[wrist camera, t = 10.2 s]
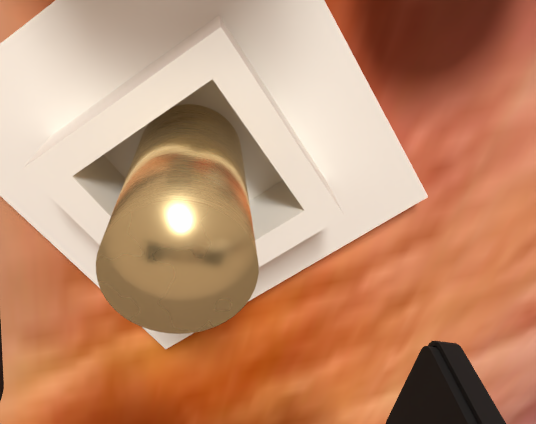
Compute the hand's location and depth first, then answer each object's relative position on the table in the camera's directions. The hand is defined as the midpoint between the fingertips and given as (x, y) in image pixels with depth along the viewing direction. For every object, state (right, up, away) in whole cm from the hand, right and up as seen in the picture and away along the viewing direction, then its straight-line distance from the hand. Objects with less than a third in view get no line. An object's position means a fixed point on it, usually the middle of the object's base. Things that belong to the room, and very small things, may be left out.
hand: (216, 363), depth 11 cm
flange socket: (-2, +6, +12) cm, 13 cm away
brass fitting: (-2, +6, +10) cm, 12 cm away
